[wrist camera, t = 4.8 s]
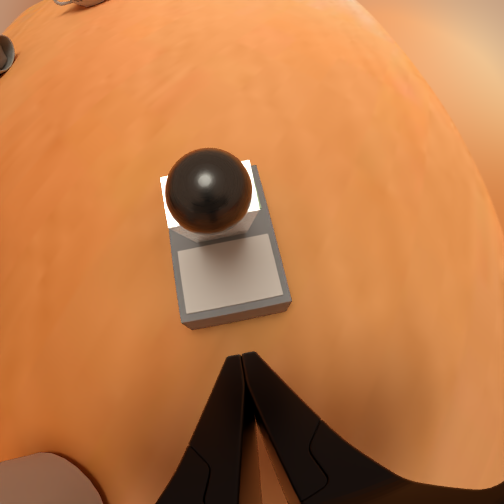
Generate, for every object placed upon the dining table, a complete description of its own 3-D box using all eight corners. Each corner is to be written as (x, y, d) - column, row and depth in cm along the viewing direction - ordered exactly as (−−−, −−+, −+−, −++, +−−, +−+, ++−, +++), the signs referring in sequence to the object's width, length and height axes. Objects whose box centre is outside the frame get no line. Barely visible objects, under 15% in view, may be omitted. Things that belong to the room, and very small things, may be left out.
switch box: (286, 310, 19) (292, 300, 16) (191, 329, 19) (180, 322, 16) (255, 189, 22) (256, 163, 19) (174, 205, 22) (163, 181, 19)
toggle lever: (248, 241, 17) (269, 219, 8) (198, 251, 17) (160, 241, 8) (239, 196, 17) (248, 125, 8) (190, 206, 17) (146, 146, 8)
